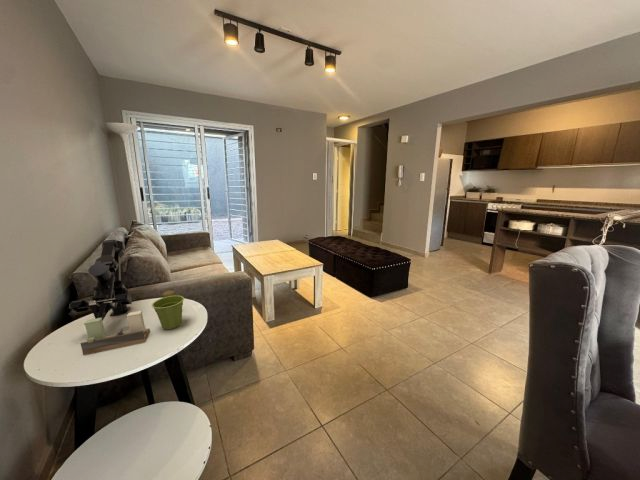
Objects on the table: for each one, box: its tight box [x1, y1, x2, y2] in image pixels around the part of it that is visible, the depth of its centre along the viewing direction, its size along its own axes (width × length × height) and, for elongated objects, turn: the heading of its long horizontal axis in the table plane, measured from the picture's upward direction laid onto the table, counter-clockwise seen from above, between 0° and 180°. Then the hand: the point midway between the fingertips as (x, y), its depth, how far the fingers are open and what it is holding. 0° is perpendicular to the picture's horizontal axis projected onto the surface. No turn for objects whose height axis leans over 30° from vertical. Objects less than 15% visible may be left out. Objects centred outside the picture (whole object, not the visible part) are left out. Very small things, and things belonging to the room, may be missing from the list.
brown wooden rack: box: [80, 327, 151, 356], centre depth 97 cm, size 8×19×6 cm, turn 111°
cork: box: [162, 290, 177, 298], centre depth 118 cm, size 6×6×11 cm
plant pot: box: [151, 295, 185, 330], centre depth 108 cm, size 12×12×11 cm
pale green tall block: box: [83, 318, 107, 340], centre depth 96 cm, size 3×4×9 cm, turn 111°
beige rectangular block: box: [126, 310, 146, 333], centre depth 100 cm, size 3×4×9 cm, turn 111°
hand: (98, 323), depth 98 cm, fingers closed
